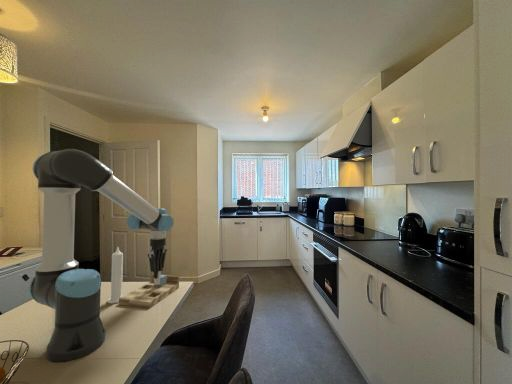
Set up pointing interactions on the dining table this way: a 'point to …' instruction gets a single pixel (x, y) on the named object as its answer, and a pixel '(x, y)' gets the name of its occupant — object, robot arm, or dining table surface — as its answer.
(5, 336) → the dining table surface
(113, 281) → the candle
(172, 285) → the board
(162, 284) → the block
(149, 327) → the dining table surface
